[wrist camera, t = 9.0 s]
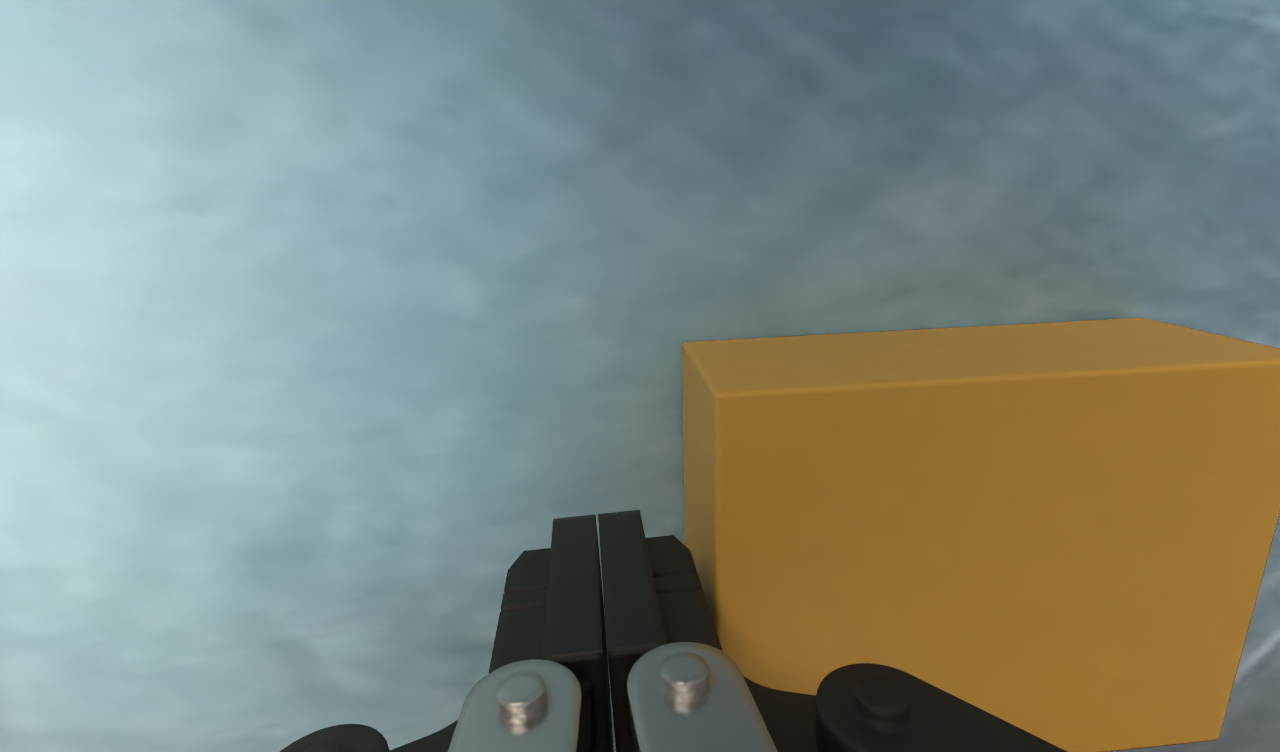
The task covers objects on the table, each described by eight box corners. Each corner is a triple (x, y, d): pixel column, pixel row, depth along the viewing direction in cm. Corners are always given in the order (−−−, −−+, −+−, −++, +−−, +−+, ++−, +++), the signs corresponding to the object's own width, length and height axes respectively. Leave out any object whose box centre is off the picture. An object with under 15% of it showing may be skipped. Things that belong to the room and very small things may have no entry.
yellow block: (686, 660, 14) (716, 795, 11) (680, 340, 12) (714, 393, 9) (1084, 624, 14) (1221, 742, 11) (1142, 316, 12) (1325, 357, 9)
